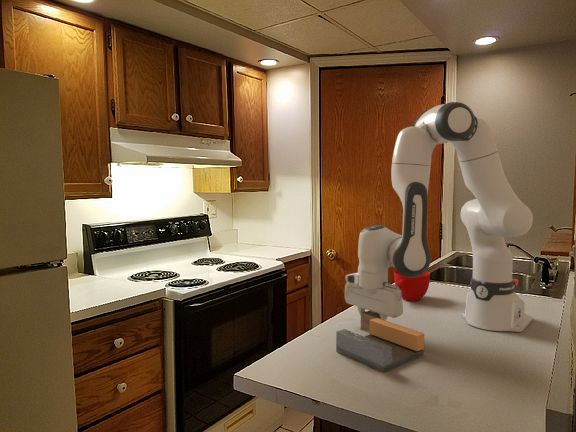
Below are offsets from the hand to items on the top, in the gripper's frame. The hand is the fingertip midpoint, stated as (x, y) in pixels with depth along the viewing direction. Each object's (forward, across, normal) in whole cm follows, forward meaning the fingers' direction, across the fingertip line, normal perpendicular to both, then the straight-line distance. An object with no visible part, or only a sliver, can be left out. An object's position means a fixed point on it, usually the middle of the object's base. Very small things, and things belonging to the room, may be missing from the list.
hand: (372, 324), depth 131 cm
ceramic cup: (+2, +12, -34) cm, 36 cm away
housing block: (+2, 0, 0) cm, 2 cm away
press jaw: (0, -13, +5) cm, 14 cm away
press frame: (+2, -13, +12) cm, 18 cm away
